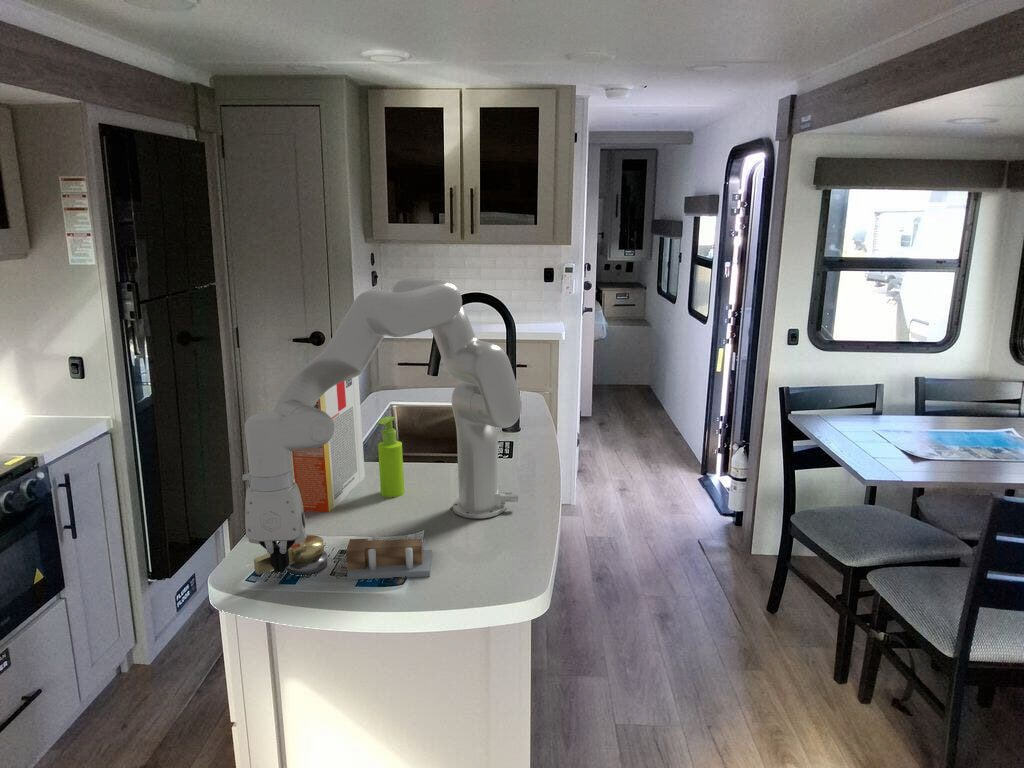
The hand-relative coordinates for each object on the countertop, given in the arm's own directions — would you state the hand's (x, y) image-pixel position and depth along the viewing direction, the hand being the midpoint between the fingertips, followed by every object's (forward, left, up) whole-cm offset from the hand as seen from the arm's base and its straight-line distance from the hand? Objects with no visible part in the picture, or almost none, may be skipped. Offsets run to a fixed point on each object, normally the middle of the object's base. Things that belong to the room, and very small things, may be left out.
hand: (280, 569), depth 138 cm
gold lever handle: (-1, -4, -1) cm, 5 cm away
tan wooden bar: (-19, -5, -2) cm, 20 cm away
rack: (-20, -5, -3) cm, 21 cm away
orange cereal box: (-1, -46, -3) cm, 46 cm away
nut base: (-1, -7, -3) cm, 8 cm away
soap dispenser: (-16, -44, -3) cm, 47 cm away
